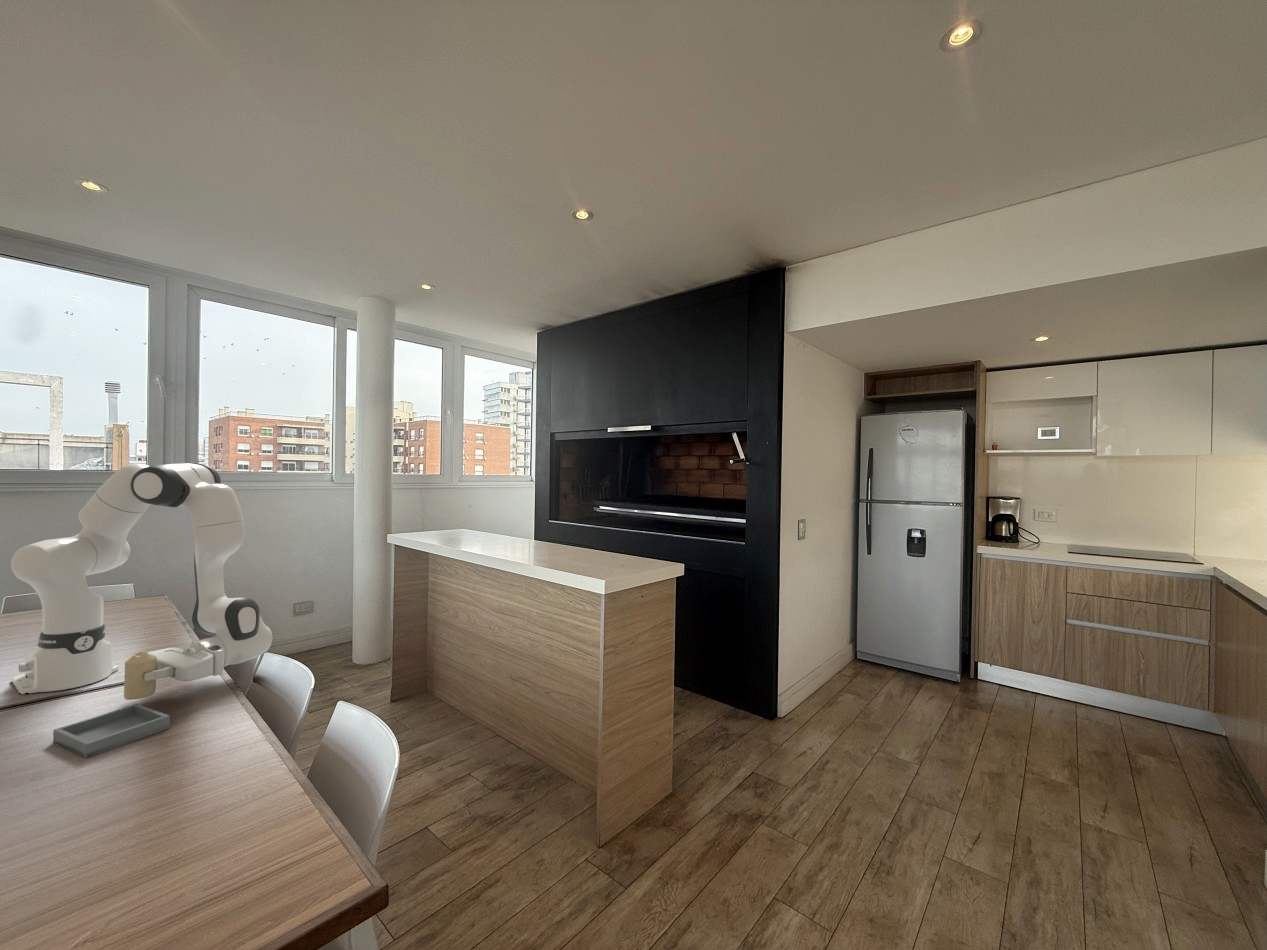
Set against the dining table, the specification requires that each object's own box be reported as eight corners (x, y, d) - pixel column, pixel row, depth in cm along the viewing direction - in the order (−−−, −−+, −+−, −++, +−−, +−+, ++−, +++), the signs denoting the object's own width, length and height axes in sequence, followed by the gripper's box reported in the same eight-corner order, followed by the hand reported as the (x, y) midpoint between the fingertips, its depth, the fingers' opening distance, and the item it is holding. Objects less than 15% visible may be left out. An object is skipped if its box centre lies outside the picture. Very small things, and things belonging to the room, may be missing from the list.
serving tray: (53, 743, 108) (53, 729, 108) (136, 715, 120) (136, 703, 120) (86, 758, 102) (86, 744, 102) (169, 728, 115) (169, 715, 115)
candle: (161, 692, 125) (162, 651, 125) (132, 701, 120) (134, 658, 120) (146, 688, 127) (147, 648, 127) (118, 697, 122) (119, 655, 122)
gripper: (180, 638, 139) (113, 654, 127) (226, 650, 131) (160, 668, 119) (179, 661, 139) (112, 679, 127) (226, 675, 132) (159, 696, 119)
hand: (135, 674), depth 123 cm, fingers closed on candle, 5 cm apart
